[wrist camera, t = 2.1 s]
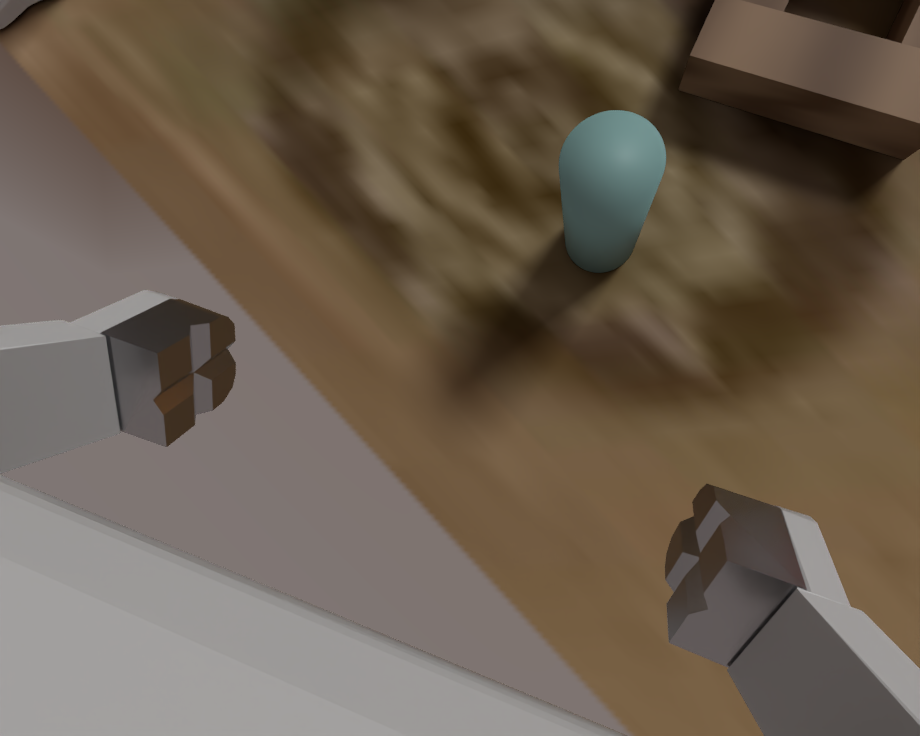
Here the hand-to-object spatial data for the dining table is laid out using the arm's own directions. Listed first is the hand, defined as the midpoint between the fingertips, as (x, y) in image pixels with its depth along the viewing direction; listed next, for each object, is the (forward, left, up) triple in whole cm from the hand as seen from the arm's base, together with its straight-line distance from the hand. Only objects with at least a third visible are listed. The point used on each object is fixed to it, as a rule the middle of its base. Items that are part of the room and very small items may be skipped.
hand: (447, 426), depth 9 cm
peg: (0, +9, -21) cm, 22 cm away
